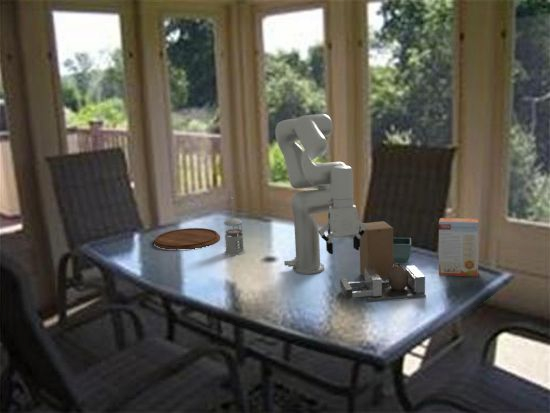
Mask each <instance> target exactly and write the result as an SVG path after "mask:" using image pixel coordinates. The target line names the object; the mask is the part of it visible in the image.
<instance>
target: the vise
mask: <svg viewBox="0 0 550 413" xmlns="http://www.w3.org/2000/svg"><path fill="white" fill-rule="evenodd" d="M404 270H405V271H406V272H407V275H408V284H407V286H406V288H405V289H403V290H399V291H398V290H393V289H392V288H391V287H390V285H389V283H388V281H386V282H385V281H384V282H382V296H374V297H373V296H364V298H365V300H366V301H367V303H376V302H377V303H378V302H387V301H388V302H389V301H400V300H411V299H413V300H414V299H423V298H424V299H425V298H427V294H426V276H425V275H424V274H423V273H422V272H421V270H419V269H418V267H416V265H414V264H413V265H406V266H405V269H404ZM358 288H359V291H365V290H368V288H367V286H364V287H358Z"/></svg>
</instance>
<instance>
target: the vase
mask: <svg viewBox="0 0 550 413" xmlns="http://www.w3.org/2000/svg"><path fill="white" fill-rule="evenodd" d="M387 282H388V283H389V285H390V287H391V288H392V289H393V290H398V291H399V290H403V289H405V288H406V286H407V284H408V275H407V272H406V271H405V269H404V267H403V265H402V264H393V268H392V269H391V271H390V272H389V275H388V280H387Z"/></svg>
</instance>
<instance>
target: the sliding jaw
mask: <svg viewBox="0 0 550 413" xmlns="http://www.w3.org/2000/svg"><path fill="white" fill-rule="evenodd" d="M339 280H340V283H339V284H340V285H339V286H340V288H341V291H342V292H343V295H344V297H345V298H346V299H353V298H359V297H365V296H373V297H374V296H382V283H383V282H382V281H383V280H382V279H381V278H380V276H379V275H378V274H377V272H376V271H375V270H374V268H365V278H364V280H361V281H359V280H358V281H348V279H347V278H340V279H339ZM364 286H367V288H368V290H365V291H361V290H354V291H353V288H359V287H364Z"/></svg>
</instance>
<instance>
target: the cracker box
mask: <svg viewBox="0 0 550 413" xmlns="http://www.w3.org/2000/svg"><path fill="white" fill-rule="evenodd" d="M479 222H480V221H479V218H452V217H451V218H449V217H448V218H447V217H444V218H443V217H440V218H439V221H438V275H439V276H456V277H475V278H476V277H479V276H478V275H479V224H480V223H479Z"/></svg>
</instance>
